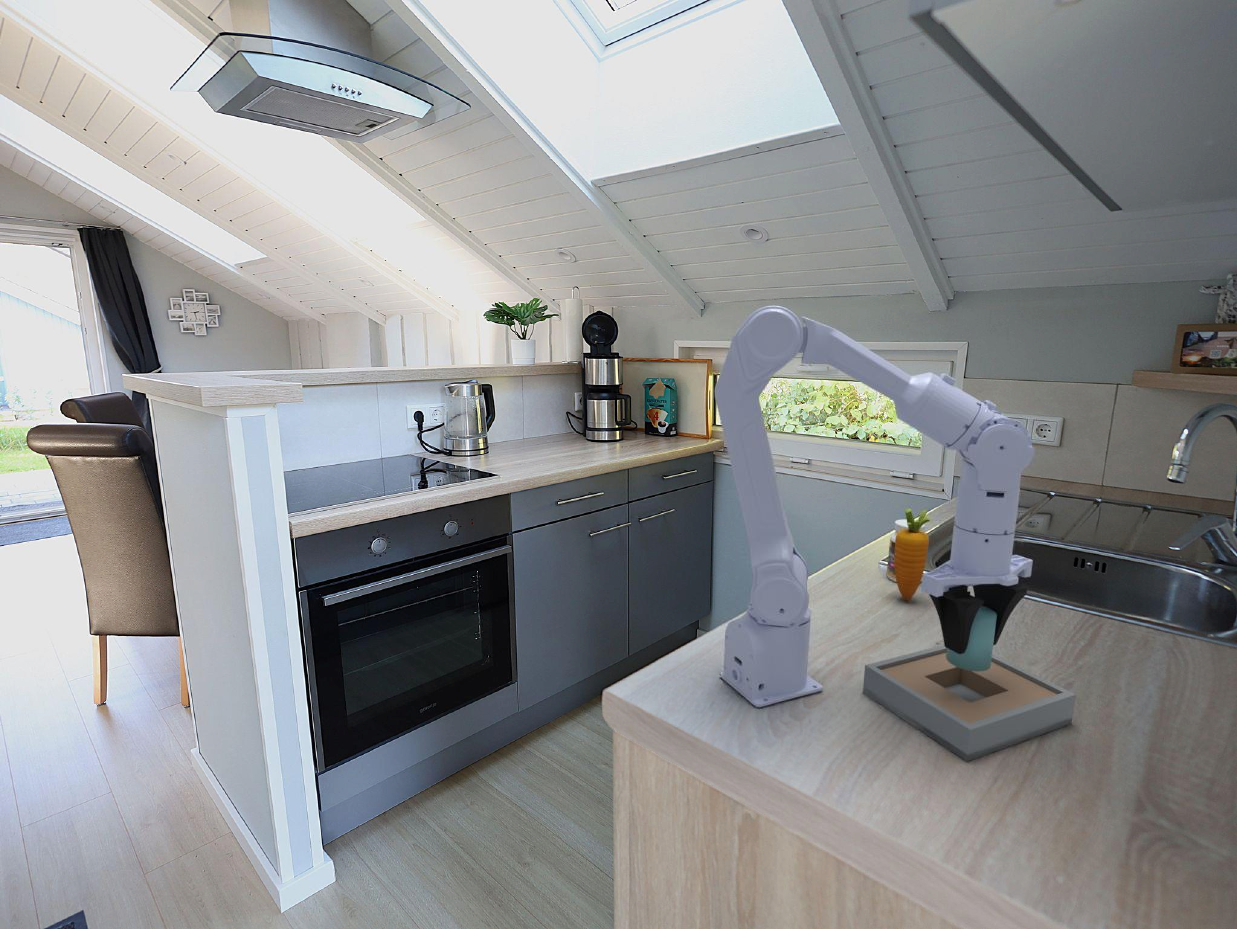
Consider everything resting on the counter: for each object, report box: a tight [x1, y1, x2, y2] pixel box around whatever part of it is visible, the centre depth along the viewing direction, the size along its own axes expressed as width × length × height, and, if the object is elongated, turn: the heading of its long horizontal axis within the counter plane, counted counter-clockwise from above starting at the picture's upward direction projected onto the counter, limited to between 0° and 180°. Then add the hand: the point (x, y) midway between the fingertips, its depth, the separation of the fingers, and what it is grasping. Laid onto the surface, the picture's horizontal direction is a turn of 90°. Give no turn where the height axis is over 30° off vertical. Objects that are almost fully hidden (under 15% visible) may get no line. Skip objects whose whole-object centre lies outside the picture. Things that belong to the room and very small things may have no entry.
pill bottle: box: [886, 518, 926, 583], centre depth 113 cm, size 6×6×10 cm
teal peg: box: [946, 606, 997, 671], centre depth 74 cm, size 4×4×6 cm
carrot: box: [894, 508, 931, 602], centre depth 104 cm, size 5×5×15 cm
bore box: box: [862, 644, 1077, 763], centre depth 75 cm, size 16×14×4 cm
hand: (970, 645), depth 74 cm, fingers closed on teal peg, 4 cm apart
